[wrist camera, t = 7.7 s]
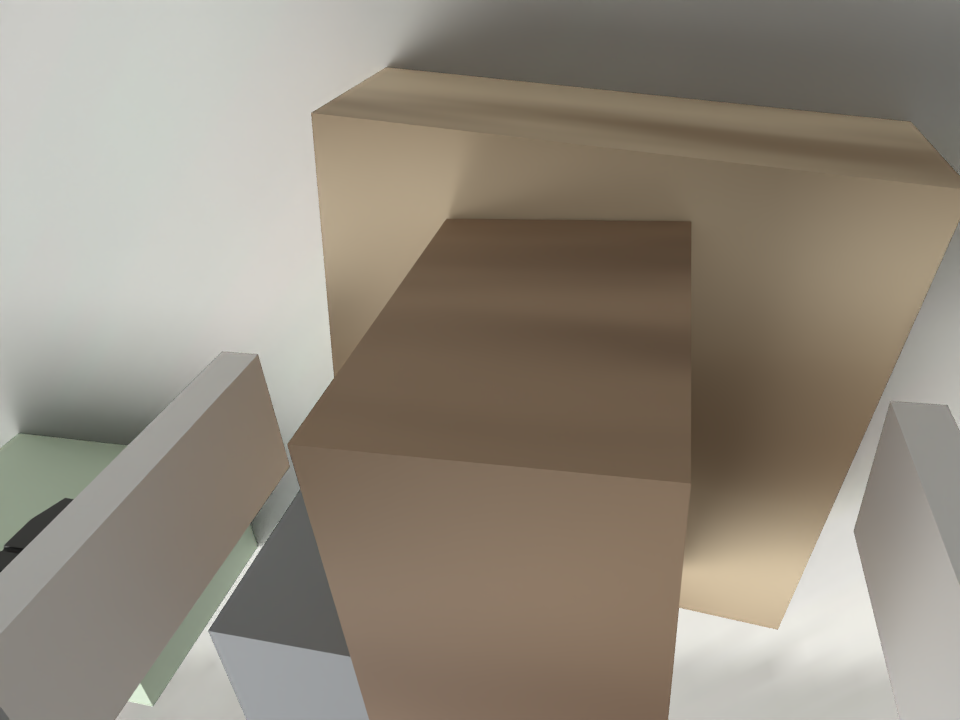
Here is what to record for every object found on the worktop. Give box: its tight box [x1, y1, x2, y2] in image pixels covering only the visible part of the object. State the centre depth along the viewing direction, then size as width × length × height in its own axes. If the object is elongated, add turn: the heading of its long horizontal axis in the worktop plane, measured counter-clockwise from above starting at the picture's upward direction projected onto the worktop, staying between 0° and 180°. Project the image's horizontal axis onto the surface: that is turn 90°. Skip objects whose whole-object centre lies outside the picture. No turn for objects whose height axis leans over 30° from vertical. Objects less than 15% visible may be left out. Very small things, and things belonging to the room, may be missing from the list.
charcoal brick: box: [208, 489, 369, 720], centre depth 20 cm, size 8×4×6 cm, turn 95°
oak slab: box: [311, 67, 960, 630], centre depth 15 cm, size 10×10×4 cm
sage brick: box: [0, 433, 258, 706], centre depth 22 cm, size 8×4×6 cm, turn 94°
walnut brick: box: [287, 219, 691, 720], centre depth 12 cm, size 8×4×6 cm, turn 5°
